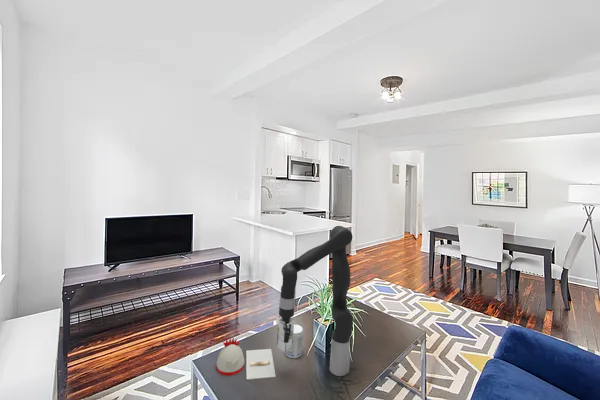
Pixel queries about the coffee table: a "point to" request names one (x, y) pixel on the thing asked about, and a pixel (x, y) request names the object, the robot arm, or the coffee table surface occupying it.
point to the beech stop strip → (259, 363)
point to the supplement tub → (296, 343)
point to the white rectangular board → (259, 371)
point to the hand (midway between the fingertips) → (284, 337)
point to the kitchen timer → (230, 358)
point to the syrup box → (280, 336)
